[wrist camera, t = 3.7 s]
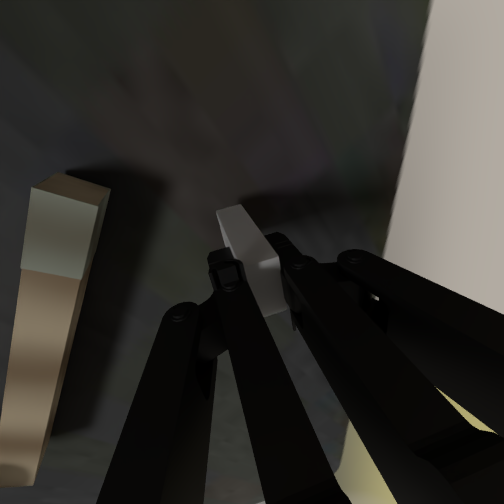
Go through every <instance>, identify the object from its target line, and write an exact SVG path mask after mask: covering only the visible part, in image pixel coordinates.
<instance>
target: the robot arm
mask: <svg viewBox="0 0 504 504" xmlns="http://www.w3.org/2000/svg"><path fill="white" fill-rule="evenodd" d="M216 213H217V217H218V220H219V224H220V228H221V232H222V235H223V239H224V243H225V246H226V248H223V249H219V250H216V251H212V252H210V253H209V255H208V258H207V260H208V264H209V268H210V269H209V273H208V274H209V277H210V280H211V283H212V286H213V289H214V292H213V294H212V295H211V297H210V298H209V299H208V300H206V301H205V302H203V303H202V304H200V305H197V304H196V303H193V302H183V303H179V304H177V305H175V306H173V307H171V308H170V309H169V310H168V311H167V312H166V313H165V315H164V316H163V318H162V321H161V324H160V327H159V330H158V332H157V335H156V338H155V341H154V343H153V346H152V349H151V352H150V355H149V357H148V360H147V363H146V366H145V368H144V371H143V374H142V377H141V380H140V382H139V385H138V388H137V391H136V394H135V396H134V399H133V402H132V405H131V407H130V410H129V413H128V416H127V419H126V421H125V424H124V427H123V430H122V433H121V435H120V438H119V441H118V444H117V446H116V449H115V452H114V455H113V458H112V460H111V463H110V466H109V469H108V471H107V474H106V477H105V480H104V483H103V485H102V488H101V491H100V494H99V497H98V499H97V502H96V504H203V502H204V492H205V482H206V472H207V462H208V452H209V442H210V432H211V421H212V411H213V401H214V391H215V381H216V371H217V361H218V360H217V356H218V355H220V354H221V353H223V352H224V351H226V350H227V349H228V350H229V354H230V358H231V363H232V367H233V371H234V375H235V379H236V383H237V387H238V391H239V396H240V400H241V404H242V408H243V412H244V416H245V420H246V424H247V428H248V433H249V437H250V441H251V445H252V449H253V453H254V457H255V461H256V465H257V470H258V474H259V478H260V482H261V486H262V490H263V494H264V498H265V503H266V504H352V503H351V501H350V500H349V498H348V497H347V496H346V494H345V493H344V492H343V491H342V490H341V488H340V486H339V484H338V482H337V480H336V478H335V476H334V474H333V471H332V469H331V467H330V465H329V463H328V460H327V458H326V456H325V454H324V451H323V449H322V447H321V445H320V442H319V440H318V438H317V436H316V433H315V431H314V429H313V427H312V424H311V422H310V420H309V418H308V416H307V413H306V411H305V409H304V407H303V404H302V402H301V400H300V398H299V395H298V393H297V391H296V389H295V386H294V384H293V382H292V380H291V378H290V375H289V373H288V371H287V369H286V366H285V364H284V362H283V360H282V357H281V355H280V353H279V351H278V348H277V346H276V344H275V342H274V339H273V337H272V335H271V333H270V331H269V328H268V326H267V324H266V322H265V319H264V317H267V316H270V315H273V314H276V313H279V312H282V311H285V310H287V306H286V302H287V304H288V305H289V307H290V313H291V319H292V326H293V330H294V331H295V330H296V326H297V328H298V330H299V331H300V333H301V335H302V337H303V338H304V340H305V342H306V344H307V345H308V347H309V349H310V351H311V353H312V354H313V356H314V358H315V360H316V361H317V363H318V365H319V367H320V368H321V370H322V372H323V374H324V375H325V377H326V379H327V381H328V382H329V384H330V386H331V388H332V389H333V391H334V393H335V395H336V396H337V398H338V400H339V402H340V403H341V405H342V407H343V409H344V410H345V412H346V414H347V416H348V417H349V419H350V421H351V423H352V424H353V426H354V428H355V430H356V431H357V433H358V435H359V437H360V439H361V440H362V442H363V444H364V445H365V447H366V449H367V451H368V453H369V454H370V456H371V458H372V459H373V461H374V463H375V465H376V466H377V468H378V470H379V472H380V473H381V475H382V477H383V479H384V481H385V482H386V484H387V486H388V488H389V489H390V491H391V493H392V495H393V496H394V498H395V500H396V502H397V504H504V315H503V314H501V313H499V312H497V311H495V310H493V309H490V308H488V307H486V306H484V305H482V304H480V303H478V302H475V301H473V300H471V299H469V298H467V297H465V296H462V295H460V294H458V293H456V292H454V291H452V290H449V289H447V288H445V287H443V286H441V285H439V284H436V283H434V282H432V281H430V280H428V279H426V278H423V277H421V276H419V275H417V274H415V273H413V272H411V271H408V270H406V269H404V268H402V267H400V266H397V265H395V264H393V263H391V262H389V261H387V260H385V259H382V258H380V257H378V256H376V255H374V254H372V253H369V252H367V251H364V250H359V249H352V250H346V251H343V252H342V253H340V254H339V255H338V257H337V262H333V263H318V262H317V261H316V260H315V259H314V258H312V257H310V256H306V255H302V254H301V253H300V252H299V250H298V249H297V248H296V247H295V246H294V245H293V244H292V243H291V241H290V240H289V239H288V238H287V237H286V236H285V235H284V234H281V233H279V232H275V233H272V234H268V235H265V236H264V235H263V234H262V233H261V231H260V230H259V229H258V227H257V226H256V224H255V223H254V222H253V220H252V219H251V217H250V216H249V215H248V213H247V212H246V211H245V209H244V208H243V206H242V205H241V204H239V205H235V206H231V207H228V208H224V209H220V210H217V211H216ZM372 294H374V295H375V296H377V297H379V301H378V300H375V299H374V298H372ZM295 325H296V326H295ZM436 387H437V388H438V389H439V390H441V391H442V392H443V393H444V394H446V395H447V396H448V397H450V398H451V399H452V400H454V401H455V402H456V403H458V404H459V405H460V406H461V407H463V408H464V409H465V410H467V411H468V412H469V413H471V414H472V415H473V416H475V417H476V418H477V419H479V420H480V421H481V422H482V423H484V424H485V425H486V426H488V427H489V428H490V429H492V430H493V431H494V432H496V433H497V434H498V435H497V434H496V433H494V432H488V431H482V430H479V429H477V428H475V427H474V426H472V425H471V424H470V423H469V422H468V421H467V420H466V419H465V418H464V417H463V416H462V415H461V414H460V413H459V412H458V411H457V410H456V409H455V408H454V406H453V405H452V404H450V402H449V401H448V400H447V399H446V398H445V397H444V396H443V395H442V394H441V393H440V392H439V391H438V389H436Z"/></svg>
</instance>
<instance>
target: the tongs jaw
mask: <svg viewBox="0 0 504 504" xmlns="http://www.w3.org/2000/svg"><path fill="white" fill-rule="evenodd" d="M110 191H111V189H110V188H107V187H103V186H100V185H97V184H94V183H91V182H88V181H85V180H82V179H78V178H75V177H72V176H69V175H66V174H63V173H60V172H57V173H55V174H53V175H52V176H50V177H48V178H47V179H45V180H43V181H42V182H40V183H38V184H36V185H35V186H33V187H32V189H31V196H30V203H29V210H28V217H27V224H26V232H25V239H24V246H23V253H22V260H21V267H20V268H22V273H21V280H20V287H19V294H18V301H17V308H16V315H15V322H14V329H13V336H12V343H11V350H10V357H9V364H8V371H7V379H6V386H5V393H4V400H3V407H2V414H1V421H0V488H3V487H18V486H33V484H34V481H35V479H36V476H37V473H38V470H39V468H40V465H41V462H42V459H43V456H44V454H45V451H46V448H47V445H48V443H49V439H50V435H51V431H52V426H53V422H54V418H55V414H56V410H57V406H58V402H59V398H60V393H61V389H62V385H63V381H64V377H65V373H66V369H67V364H68V360H69V356H70V352H71V348H72V344H73V340H74V335H75V331H76V327H77V323H78V319H79V315H80V311H81V306H82V302H83V298H84V294H85V290H86V286H87V282H88V277H89V273H90V269H91V265H92V261H93V257H94V254H95V252H96V249H97V245H98V241H99V237H100V232H101V228H102V224H103V220H104V216H105V212H106V208H107V204H108V200H109V195H110Z"/></svg>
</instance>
